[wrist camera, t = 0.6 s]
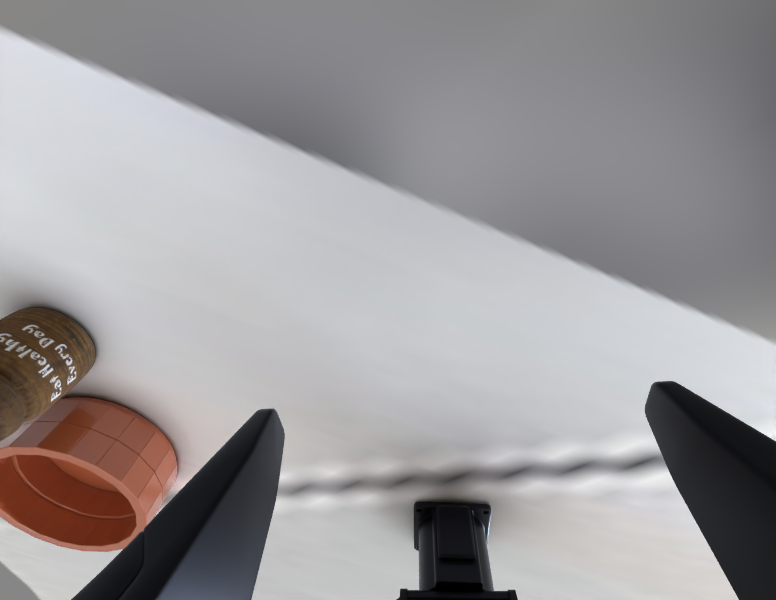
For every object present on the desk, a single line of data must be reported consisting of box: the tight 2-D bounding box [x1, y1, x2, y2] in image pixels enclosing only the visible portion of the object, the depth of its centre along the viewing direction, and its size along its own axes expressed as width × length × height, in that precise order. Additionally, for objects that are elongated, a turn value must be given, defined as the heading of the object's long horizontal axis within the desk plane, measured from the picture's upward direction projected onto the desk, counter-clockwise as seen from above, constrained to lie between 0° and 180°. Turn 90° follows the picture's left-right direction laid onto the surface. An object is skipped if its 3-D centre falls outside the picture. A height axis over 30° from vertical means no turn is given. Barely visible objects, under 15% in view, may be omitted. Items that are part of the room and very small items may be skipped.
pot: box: [0, 397, 177, 552], centre depth 31 cm, size 12×12×5 cm
